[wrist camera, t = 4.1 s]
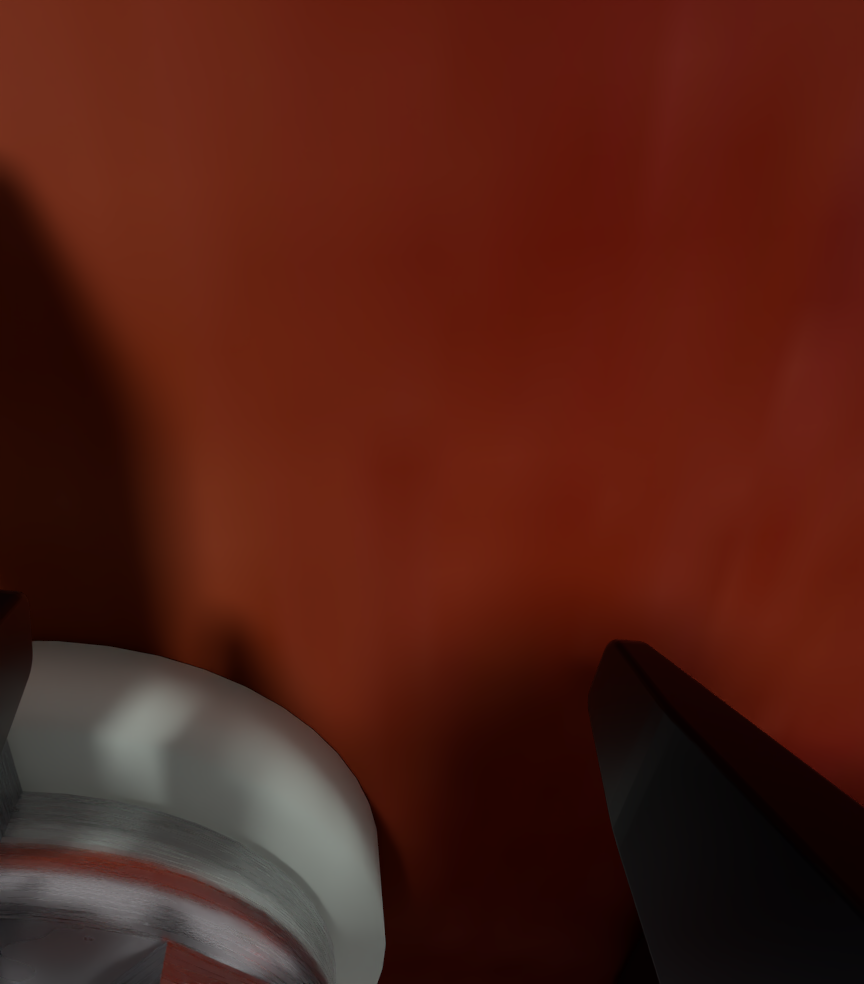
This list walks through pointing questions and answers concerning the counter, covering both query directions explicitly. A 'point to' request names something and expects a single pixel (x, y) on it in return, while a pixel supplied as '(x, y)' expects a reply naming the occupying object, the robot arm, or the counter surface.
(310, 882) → the nut base
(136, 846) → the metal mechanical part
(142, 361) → the counter surface
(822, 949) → the robot arm
